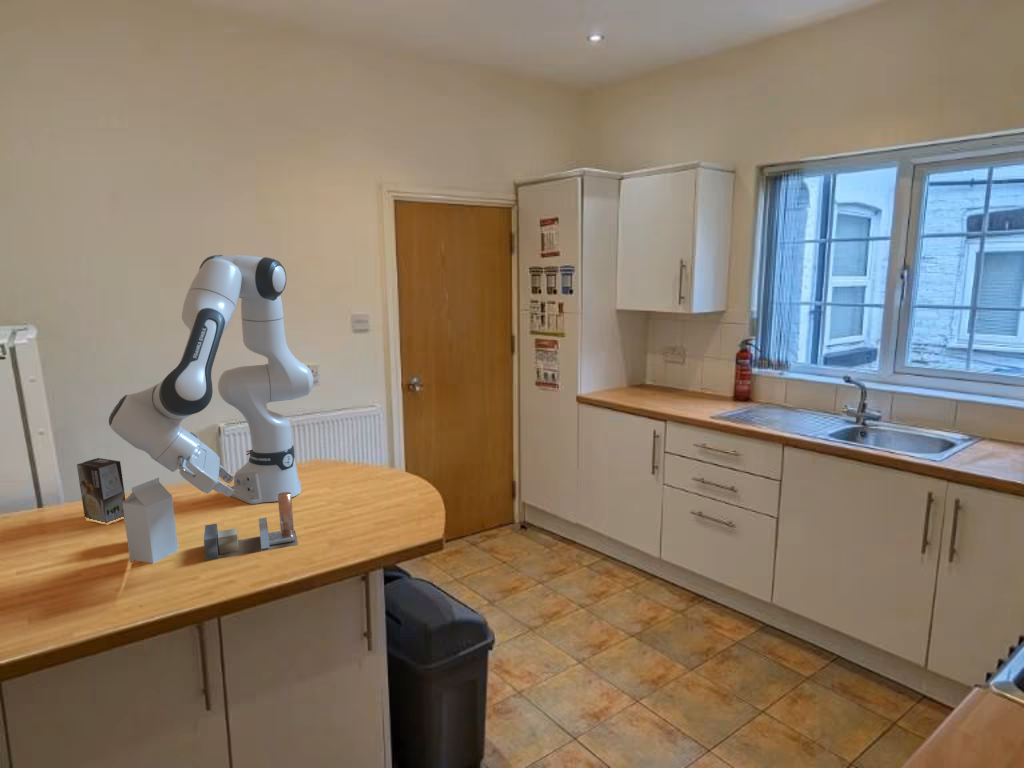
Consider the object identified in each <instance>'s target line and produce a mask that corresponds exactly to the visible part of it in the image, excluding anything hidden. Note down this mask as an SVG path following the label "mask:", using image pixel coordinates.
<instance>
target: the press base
mask: <svg viewBox="0 0 1024 768" xmlns="http://www.w3.org/2000/svg"><path fill="white" fill-rule="evenodd" d="M218 531H219V530H218V524H217V523H211V524H206V525H205V526H204V534H203V535H204V536H203V547H204V554H205V562H208V561H214V560H219V559H223V558H224V559H225V558H230V557H236V556H242V555H247V554H254V553H260V552H266V551H271V550H277V549H282V548H283V549H284V548H288V547H295V546H299V542H298V538H297V533H296V530H294V535H295V541H291V542H285V543H279V544H273V545H269V546H270V548H265V549H261V540H260V535H259V536H254V537H253V536H252V537H248V538H247V537H246V538H241V539H238V551H234V552H228V553H222V554H220V552H219V542H218Z"/></svg>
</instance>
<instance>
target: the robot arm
mask: <svg viewBox="0 0 1024 768" xmlns="http://www.w3.org/2000/svg"><path fill="white" fill-rule="evenodd" d="M286 272H287V271H286V270H285V267H284V266H283V265H282V263H281V262H280V261H279V260H277V259H275V258H271V257H265V256H264V257H260V256H256V255H248V254H241V255H238V254H237V255H222V254H216V255H210V256H208V257H206V258H205V259H204V260H203V261H202V262H201V264H200V266H199V269H198V271H197V274H195V276H194V278H193V280H192V281H191V284H190V286H189V289H188V290H187V293H186V295H185V299H184V302H183V306H182V312H181V321H182V322H183V323H184V325H185V326H186V328H187V329H189V335H188V339H187V342H186V345H185V348H184V351H183V353H182V356H181V359H180V362H179V363H178V365H177V366H176V367H175V368H174V369H172V371H170V372H169V374H167V376H165V378H163V380H162V381H160V382H159V383H157V384H155V385H153V386H150V387H149V388H146V389H145V390H140V391H137V392H136V393H130V394H125V395H124V396H122V397H121V398H120V400H119V401H118V403H117V404H116V405H115V407H113V409H112V412H111V413H110V415H109V417H108V426H109V427H110V428H111V430H112V431H113V432H114V433H115V434H116V435H118V436H119V437H120V438H122V440H123V441H125V442H126V443H129V445H131V446H132V447H134V448H136V449H138V450H139V451H143V452H145V453H147V454H148V456H150V458H151V459H153V460H154V461H155V462H156V463H158V464H159V465H161V466H162V467H164V468H166V469H167V470H169V472H172V473H173V472H174V473H175V471H178V469H179V474H180V475H181V477H182V478H184V480H185V481H187V482H189V483H190V484H191V485H192V486H194V487H195V488H197V489H198V490H199V491H201V492H203V493H204V494H210V493H211V492H212V491H215V492H217V493H221V494H223V495H224V496H226V497H233V498H236V499H238V500H240V501H243V502H245V503H247V504H250V505H257V504H261V503H271V502H278V494H279V493H283V492H290V493H291V499H292V498H294V497H296V496H298V495H299V494H301V492H302V483H301V480H300V478H299V473H298V468H297V464H296V460H295V457H296V456H295V453H296V451H295V447H294V445H293V440H292V439H293V438H292V437H293V436H292V425H291V421H290V420H289V418H287V416H285V415H283V414H281V413H278V412H274V411H271V410H269V409H268V407H267V404H268V403H273V402H274V403H275V402H283V401H293V400H296V399H299V398H302V397H306V396H308V395H309V394H310V392H311V391H312V389H313V387H314V374H313V372H312V371H311V369H310V368H309V367H308V366H307V365H306V364H305V363H303V362H301V361H300V360H298V359H297V357H296V356H294V354H293V353H292V352H291V350H290V348H289V346H288V342H287V337H286V332H285V319H284V308H283V301H282V297H281V295H282V294H283V292H284V290H285V289H286V285H287V273H286ZM239 299H240V300H241V302H240V303H241V305H240V315H241V329H242V330H241V331H242V342H243V344H244V346H245V347H246V349H248V350H249V351H251V352H252V353H254V354H258V355H260V356H262V357H265V358H267V361H268V362H267V363H265V364H257V365H245V366H237V367H234V368H230V369H226V370H224V371H223V372H222V373H221V375H220V377H219V378H218V383H217V390H218V394H219V395H220V397H221V399H222V400H223V401H224V402H225V403H226V404H228V405H230V406H232V407H234V408H235V409H236V410H238V411H239V412H240V413H241V415H242V416H243V418H244V419H245V420H246V423H247V425H248V428H249V433H250V434H249V435H250V440H251V449H250V450H246V451H245V452H246V456H249V458H248V461H247V462H246V463H245V464H244V465H243V466H241V467H240V468H239V469H238V470H236V472H235V474H234V476H233V474H231V473H230V472H228V471H227V469H226V468H225V467H224V466H223V465H221V458H220V456H219V455H218V454H217V453H216V452H215V451H214V450H213V449H211V448H210V447H209V446H208V445H206V444H205V443H204V442H203V441H202V440H200V439H199V436H198V435H197V434H196V433H194V432H193V431H188V430H186V429H185V428H183V427H182V426H181V422H182V421H183V420H184V419H186V418H189V417H191V416H192V415H194V414H195V415H196V414H197V413H200V412H202V411H203V410H205V408H207V407H208V405H209V404H210V402H211V401H212V397H213V391H214V390H213V389H214V388H213V379H212V371H213V370H212V369H213V366H214V362H215V359H216V356H217V352H218V350H219V349H218V348H219V345H220V342H221V339H222V337H223V335H224V333H225V331H226V330H227V329H228V327H229V325H230V323H231V320H232V318H233V316H234V313H235V311H236V308H237V306H238V305H237V304H238V300H239ZM219 478H221V479H222V480H220V479H219ZM222 481H223V482H225V483H226V484H225V483H223V482H222ZM232 481H233V485H232V486H230V485H229V484H231V483H232Z"/></svg>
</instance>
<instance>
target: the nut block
mask: <svg viewBox="0 0 1024 768" xmlns="http://www.w3.org/2000/svg"><path fill="white" fill-rule="evenodd" d="M238 540H239V539H238V528H231V529H224V530H218V542H219V552H220V554H222V553H228V552H234V551H238Z"/></svg>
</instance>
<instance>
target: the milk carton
mask: <svg viewBox="0 0 1024 768" xmlns="http://www.w3.org/2000/svg"><path fill="white" fill-rule="evenodd" d="M174 509H175V507H174V501H173V495H172V494H171V493H170V492H169V491H168V490H167V488H166V487H165V486H164V485H163V484H162V483H161V482H160V477H157V478H154V479H150V480H149V481H145V482H143V483H141V484H138V485H136V486H133V487H131V493H130V494H129V495H128V496H127V498H125V501H124V502H123V511H124V519H123V520H124V524H125V531H126V540H127V548H128V555H129V563H133V564H134V561H137V562H138V561H139V562H143V563H148V564H149V563H150V564H155V563H158V562H159V561H161V560H163V559H164V558H167V557H168V556H170V555H172V554H175V553H176V552H178V551H179V543H178V537H177V528H176V525H177V524H176V519H175V510H174Z"/></svg>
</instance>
